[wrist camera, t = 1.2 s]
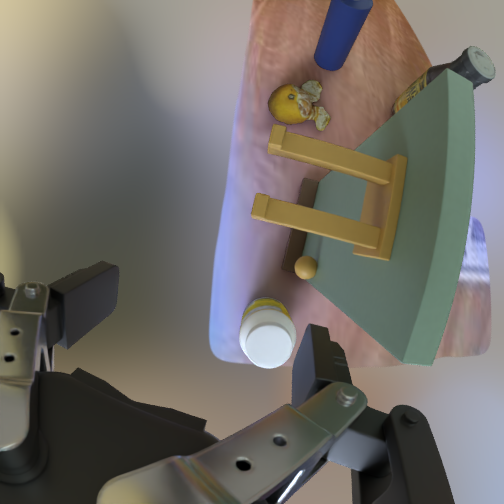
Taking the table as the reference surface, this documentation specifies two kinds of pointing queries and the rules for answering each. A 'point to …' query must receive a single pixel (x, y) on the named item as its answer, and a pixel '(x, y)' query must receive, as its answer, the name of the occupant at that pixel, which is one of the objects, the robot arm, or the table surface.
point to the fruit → (298, 104)
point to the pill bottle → (267, 333)
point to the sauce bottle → (467, 65)
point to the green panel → (387, 218)
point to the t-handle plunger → (340, 31)
